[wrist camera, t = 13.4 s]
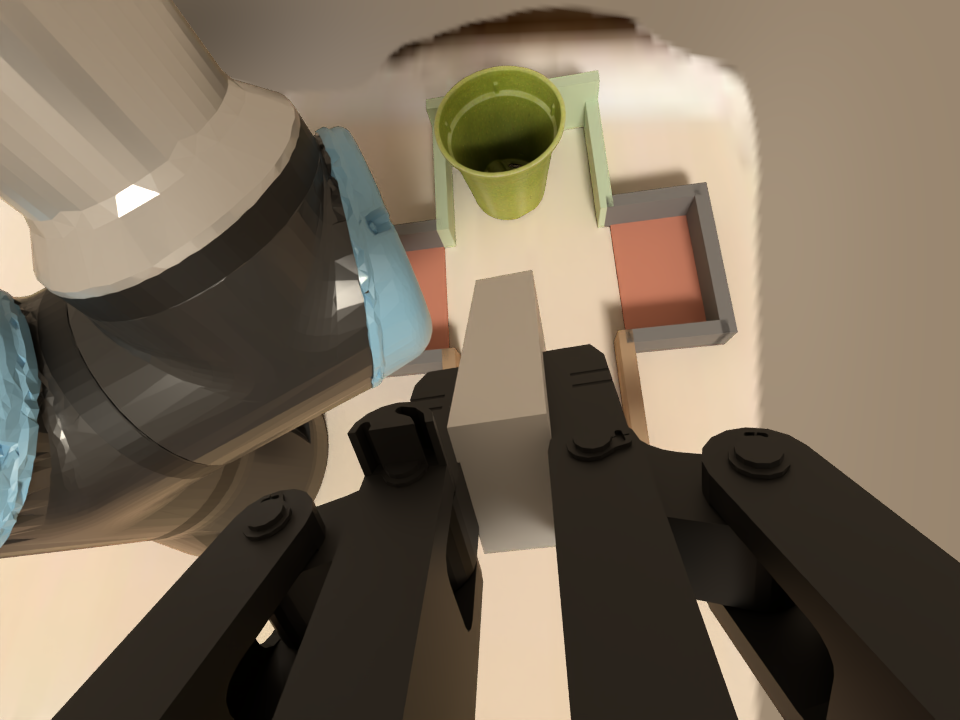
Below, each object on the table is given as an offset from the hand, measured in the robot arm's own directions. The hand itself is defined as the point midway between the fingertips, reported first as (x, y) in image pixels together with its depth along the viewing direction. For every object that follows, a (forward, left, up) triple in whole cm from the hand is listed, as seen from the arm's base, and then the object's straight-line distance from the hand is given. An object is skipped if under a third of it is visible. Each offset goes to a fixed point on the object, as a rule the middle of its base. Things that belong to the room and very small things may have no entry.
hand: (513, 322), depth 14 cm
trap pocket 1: (+4, +15, -26) cm, 30 cm away
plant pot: (-10, +19, -26) cm, 34 cm away
